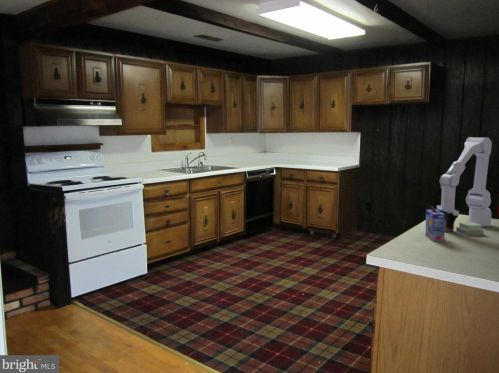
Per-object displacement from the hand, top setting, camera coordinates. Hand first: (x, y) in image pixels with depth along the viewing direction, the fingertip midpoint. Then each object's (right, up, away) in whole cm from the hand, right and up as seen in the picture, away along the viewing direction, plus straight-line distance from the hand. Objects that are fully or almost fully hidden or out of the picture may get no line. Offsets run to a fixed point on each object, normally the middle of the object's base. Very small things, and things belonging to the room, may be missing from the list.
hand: (446, 227), depth 196 cm
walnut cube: (0, -1, 0) cm, 1 cm away
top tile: (+9, 0, -5) cm, 10 cm away
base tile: (+9, -3, -4) cm, 10 cm away
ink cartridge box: (-11, -4, -12) cm, 17 cm away
